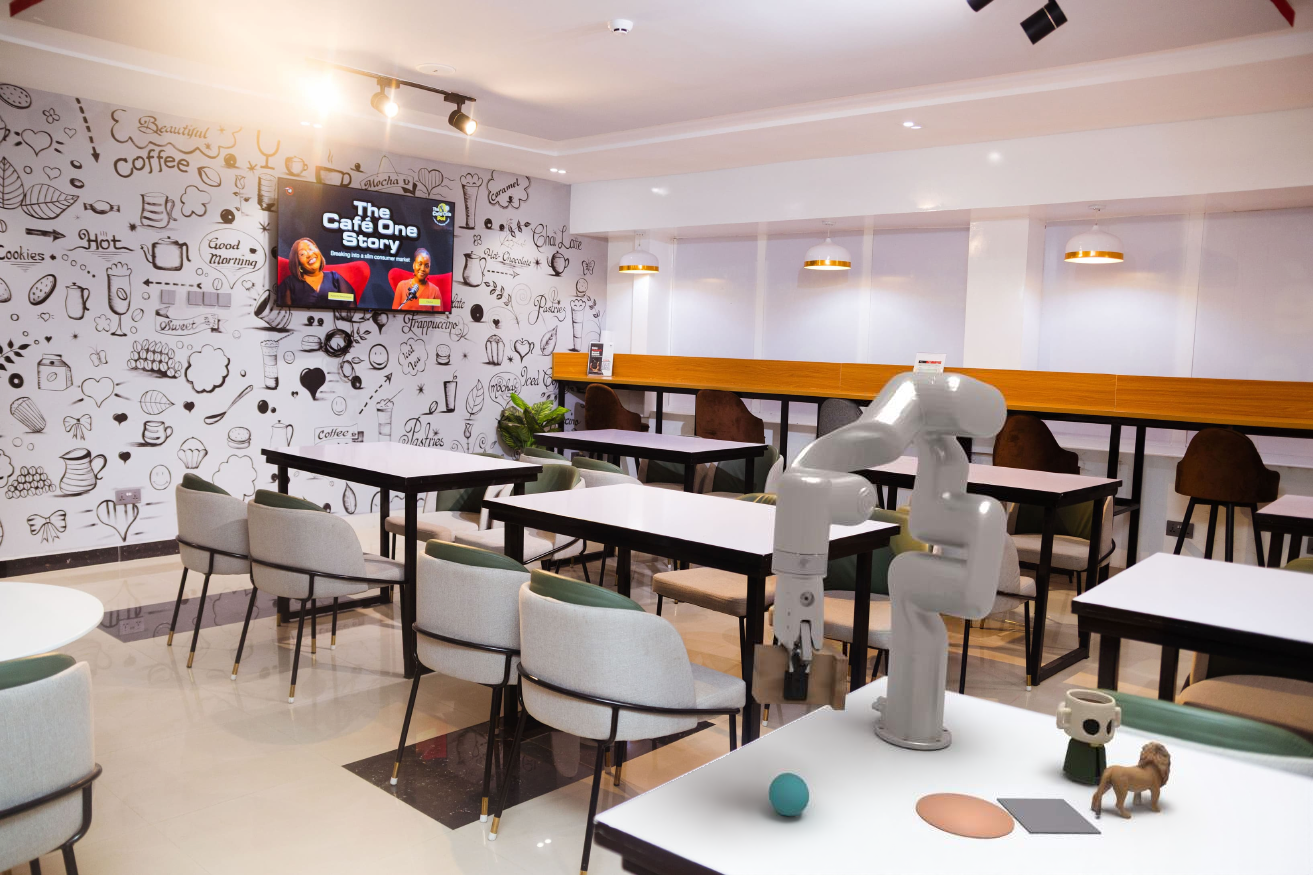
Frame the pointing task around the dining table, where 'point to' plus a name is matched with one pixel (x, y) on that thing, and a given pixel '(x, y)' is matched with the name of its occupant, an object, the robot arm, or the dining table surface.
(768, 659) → the t-shaped block
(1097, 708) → the character mug
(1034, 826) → the far square
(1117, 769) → the lion figurine
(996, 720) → the dining table surface
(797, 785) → the ball
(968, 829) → the disc
